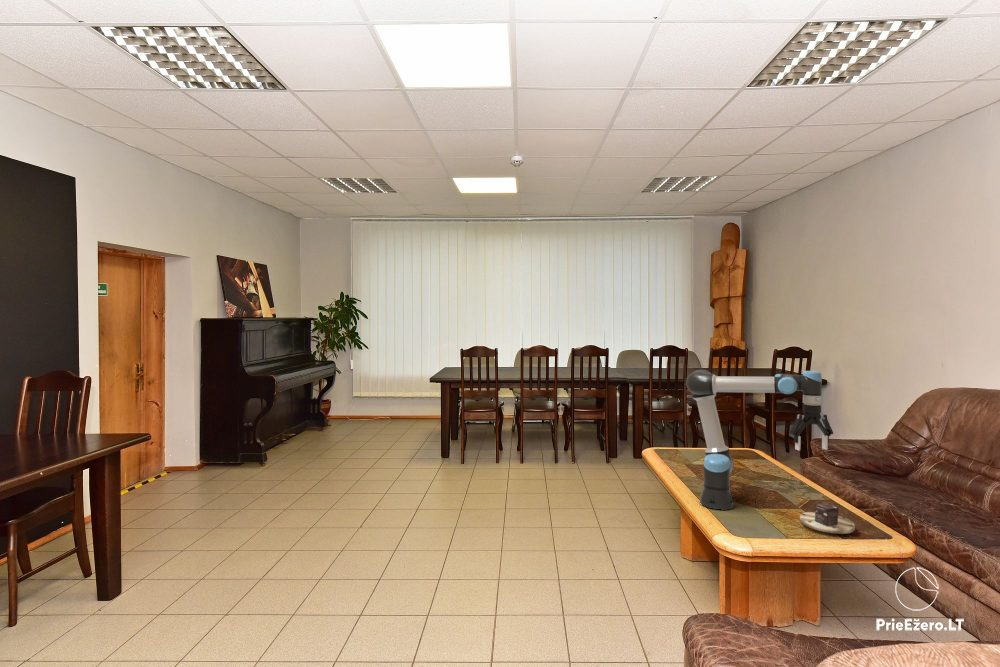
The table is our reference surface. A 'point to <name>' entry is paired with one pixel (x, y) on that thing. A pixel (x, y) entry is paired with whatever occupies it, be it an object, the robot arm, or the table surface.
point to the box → (826, 514)
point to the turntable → (841, 528)
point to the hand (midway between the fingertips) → (811, 449)
